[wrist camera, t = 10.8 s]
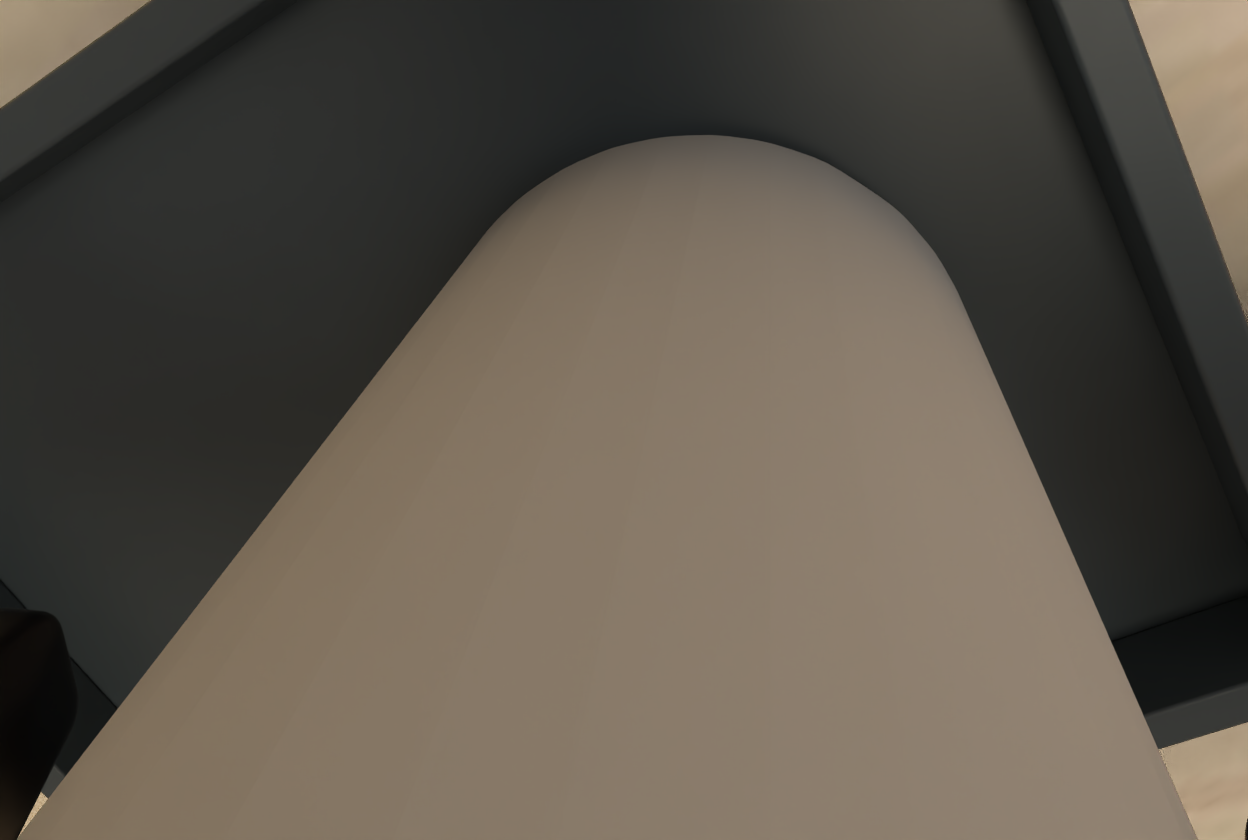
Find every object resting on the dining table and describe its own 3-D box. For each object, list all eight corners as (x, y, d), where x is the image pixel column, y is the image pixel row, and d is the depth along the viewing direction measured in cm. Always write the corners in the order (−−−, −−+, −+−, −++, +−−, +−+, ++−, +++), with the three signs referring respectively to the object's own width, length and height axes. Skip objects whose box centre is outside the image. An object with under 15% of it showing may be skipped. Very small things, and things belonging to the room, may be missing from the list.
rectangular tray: (897, -484, 10) (924, -558, 8) (1308, 584, 15) (1382, 682, 13) (-241, 316, 16) (-371, 373, 14) (309, 920, 20) (265, 1023, 18)
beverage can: (1009, 132, 12) (2824, 2111, 1) (925, 611, 15) (1310, 2460, 4) (440, 105, 13) (-1300, 1349, 2) (463, 570, 16) (-205, 2099, 5)
